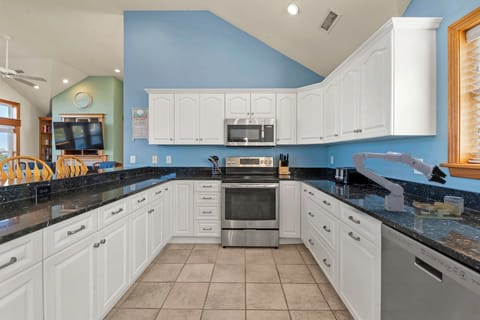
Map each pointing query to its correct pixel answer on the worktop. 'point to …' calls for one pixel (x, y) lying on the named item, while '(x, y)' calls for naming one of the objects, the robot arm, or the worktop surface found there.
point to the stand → (435, 215)
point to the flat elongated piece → (436, 208)
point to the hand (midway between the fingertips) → (445, 179)
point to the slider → (442, 205)
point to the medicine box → (455, 202)
